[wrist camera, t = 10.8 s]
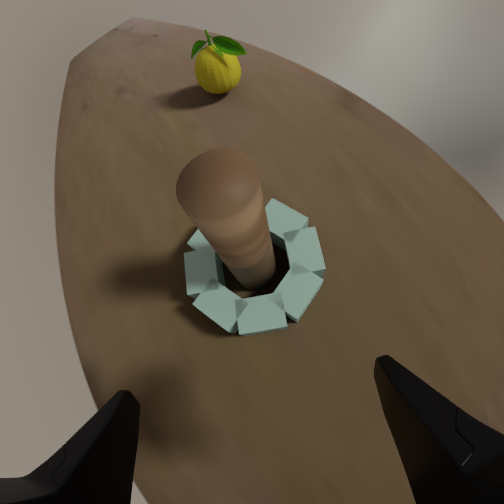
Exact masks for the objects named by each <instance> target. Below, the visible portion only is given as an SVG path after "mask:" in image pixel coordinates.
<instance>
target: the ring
mask: <svg viewBox="0 0 504 504" xmlns="http://www.w3.org/2000/svg"><path fill="white" fill-rule="evenodd" d="M265 210H266V215H267V220H268V225H269V231H270V236H271V241H272V243H273V244H275V245H277V246H278V247H280V248H281V249H283V250H285V251H286V256H287V261H288V265H289V271H288V272H287V274H286V275H285V277H284V278H283V280H282V281H281V282H280V284H279V285H278V287H277V288H276V290H275V291H274V292H273V293H272V294H266V295H261V296H256V297H250V298H245V299H241V298H240V297H239V296H237V295H236V294H234V293H233V292H232V291H230V290H229V289H227V288H226V287H225V280H224V272H223V264H222V263H223V261H222V260H221V258H220V257H219V256H218V254H217V253H216V252H215V250H214V249H213V248H212V246H211V245H210V244H209V242H208V241H207V240H206V238H205V237H204V236H203V234H202V233H201V232H200V231H199V229H198V230H197V231H196V232H195V233H194V235H193V236H192V237H191V239H190V240H189V241H188V242H187V244H188V245H189V246H190V247H191V248H192V249H193V250H194V251H191V252H186V253H184V263H185V275H186V287H187V295H188V296H190V297H192V298H194V299H196V300H195V301H194V303H193V305H194V306H195V307H196V308H198V309H199V310H200V311H201V312H203V313H204V314H205V315H207V316H208V317H209V318H210V319H212V320H213V321H214V322H216V323H217V324H218V325H220V326H221V327H222V328H224V329H225V330H226V331H228V332H231V333H236V331H237V330H239V335H243V336H248V335H254V334H260V333H266V332H272V331H277V330H283V329H288V327H287V321H286V316H288V317H289V318H291V319H292V320H294V321H295V322H298V320H299V319H300V317H301V316H302V314H303V313H304V312H305V310H306V309H307V307H308V306H309V304H310V303H311V301H312V300H313V298H314V297H315V295H316V293H317V292H318V290H319V289H320V287H321V285H322V283H323V281H324V279H322V278H321V277H323V274H324V272H325V269H326V267H325V263H324V259H323V255H322V251H321V247H320V244H319V240H318V236H317V232H316V228H315V227H310V228H308V219H309V218H307V217H305V216H304V215H302V214H300V213H298V212H297V211H295V210H293V209H291V208H289V207H288V206H286V205H284V204H282V203H281V202H279V201H277V200H275V199H273V198H272V199H271V200H270V202H269V203H268V204H267V205H266V207H265ZM285 315H286V316H285Z"/></svg>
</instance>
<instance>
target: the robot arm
mask: <svg viewBox="0 0 504 504" xmlns="http://www.w3.org/2000/svg"><path fill="white" fill-rule="evenodd" d="M374 378H375V382H376V386H377V389H378V393H379V397H380V400H381V404H382V408H383V412H384V415H385V418H386V420H387V423H388V425H389V428H390V431H391V433H392V436H393V438H394V441H395V444H396V446H397V449H398V452H399V455H400V457H401V460H402V463H403V466H404V469H405V472H406V474H407V477H408V480H409V483H410V486H411V489H412V492H413V496H414V499H415V501H416V504H504V434H502V433H500V432H498V431H496V430H494V429H492V428H491V427H489V426H487V425H485V424H483V423H482V422H480V421H478V420H477V419H475V418H473V417H472V416H471V415H469V414H468V413H466V412H465V411H463V410H462V409H461V408H459V407H457V406H456V405H455V404H454V403H452V402H451V401H450V400H448V399H447V398H446V397H444V396H443V395H442V394H440V393H439V392H437V391H436V390H435V389H433V388H432V387H431V386H429V385H428V384H427V383H425V382H424V381H423V380H421V379H420V378H419V377H417V376H416V375H415V374H413V373H412V372H410V371H409V370H408V369H406V368H405V367H404V366H402V365H401V364H400V363H398V362H397V361H396V360H394V359H393V358H392V357H390V356H389V355H383V356H380V357H377V358H376V361H375V367H374ZM139 416H140V404H139V402H138V401H137V399H136V398H135V397H134V396H133V394H132V393H131V392H130V391H128V390H119V391H118V392H117V393H116V394H115V395H114V396H113V397H112V398H111V399H110V400H109V401H108V402H107V403H106V404H105V405H104V406H103V407H102V408H101V409H100V410H99V411H98V412H97V413H96V414H95V415H94V416H93V417H92V418H91V419H90V420H89V421H88V422H87V423H86V424H85V425H84V426H83V427H82V428H81V429H79V430H78V432H76V433H75V434H74V435H73V436H72V437H71V438H70V439H69V440H68V441H67V442H66V444H64V445H63V446H62V447H61V448H60V449H59V450H58V451H57V452H56V453H55V454H54V455H52V456H51V457H50V458H49V459H48V460H47V461H45V462H44V463H43V464H41V465H40V466H39V467H38V468H36V469H35V470H34V471H33V472H31V473H30V474H28V475H26V476H24V477H19V478H0V504H130V502H131V492H132V483H133V474H134V466H135V459H136V452H137V445H138V435H139Z"/></svg>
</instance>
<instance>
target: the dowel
mask: <svg viewBox="0 0 504 504" xmlns="http://www.w3.org/2000/svg"><path fill="white" fill-rule="evenodd" d="M176 195H177V199H178V201H179V203H180V205H181V206H182V208H183V209H184V210H185V212H186V213H187V214H188V216H189V217H190V218H191V220H192V221H193V222H194V224H195V225H196V226H197V228H198V229H199V231H200V232H201V233H202V234H203V236H204V237H205V238H206V240H207V241H208V242H209V244H210V245H211V246H212V248H213V249H214V250H215V252H216V253H217V254H218V256H219V257H220V258H221V260H222V261H223V262H224V263H225V265H226V266H227V267H228V269H229V270H230V271H231V273H232V274H233V275H234V276H235V278H236V279H237V280H238V282H239V283H240V284H241V285H242V286H243V287H245V288H246V289H249V290H254V291H256V290H262V289H264V288H266V287H268V286H269V285H270V284H271V283H272V282H273V281H274V279H275V276H276V272H277V268H276V262H275V257H274V252H273V246H272V241H271V236H270V231H269V225H268V220H267V215H266V210H265V205H264V200H263V195H262V190H261V185H260V180H259V175H258V170H257V167H256V165H255V163H254V162H253V161H252V159H251V158H250V157H249V156H247V155H246V154H244V153H242V152H240V151H238V150H234V149H227V148H222V149H214V150H210V151H207V152H205V153H202V154H200V155H199V156H197V157H195V158H194V159H193V160H191V161H190V162H189V163H188V164H187V165H186V166H185V168H184V169H183V170H182V172H181V174H180V176H179V178H178V181H177V185H176Z"/></svg>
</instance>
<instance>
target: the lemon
mask: <svg viewBox="0 0 504 504" xmlns="http://www.w3.org/2000/svg"><path fill="white" fill-rule="evenodd" d="M204 31H205V33H206V36H207V39H208V40H207V41H208V43H209V45H208V46H207V47H205V48H203V49H202V50H201V51H200V52H199V54H198V55H197V58H196V61H195V75H196V78H197V81H198V83H199V84H200V86H201V87H202V88H203V89H204V90H206V91H208V92H210V93H214V94H221V93H225V92H227V91H230V90H232V89H233V88H234V87H236V85H237V84H238V83H239V80H240V76H241V67H240V64H239V61H238V59H237V57H236V56H238V55H245V54H247V53H246V51H245V49H244V48H243V47H242V46H241V45H240V44H239V43H238V42H236V41H235V40H233V39H231V38H228V37H225V36H216V37H212V36H210V35H208V33H207V30H204ZM209 37H211V38H212V39H213V42H214V44H211V42H210V38H209ZM207 41H201V40H199V41H197V42H195V44H194V45H193V49H192V55H191V59H192V58H193V57H194V56H195V54H196V53H197V52H198V51H199V50H200V49H201V48H202V47H203V46H204V45H205V43H206V42H207Z"/></svg>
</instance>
